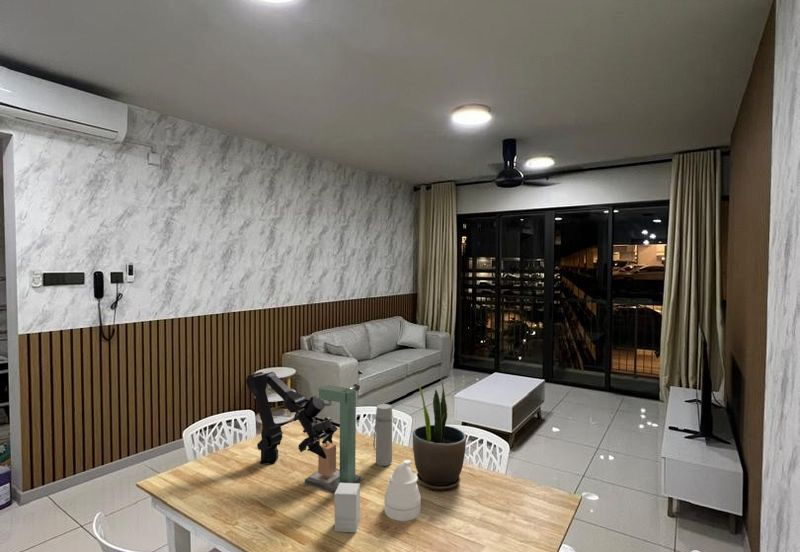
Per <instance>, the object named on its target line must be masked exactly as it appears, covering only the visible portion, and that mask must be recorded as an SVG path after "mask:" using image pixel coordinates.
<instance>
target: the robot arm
mask: <svg viewBox="0 0 800 552" xmlns="http://www.w3.org/2000/svg"><path fill="white" fill-rule="evenodd" d="M245 382H246V386H247V388H248V390H249V392H251V394H253V395H254V399H255V402H256V406H257V410H258V414H259V417H260V420H261V424H262V429H261V434H260V435H261V440H260V441H259V442H258V443H257V446H256V447H257V450H260V461H259V463H258V464H261V465H265V464H266V465H275V463H276V461H278V459H279V449H278V446H280V444H281V442H282V440H283V437H284V436H283V434H284V432H283V430H282V426H281V425H280V424H277V423H276V422H275V421H274V417H273V413H272V410H271V406H270V403H269V402H270V401H269V399H268V395H267V392H266V391H267V390H266V389H267V386H269V387H270V388H271V389H272V390H273V391H274V392H275V393H276V394H277V395H278V396H279V397H280V398H281V399H282V400H283V404H284V406H285V408H286V409H287V410H288V411H289V412H290V413H291V414H292V413H293V414H294V413H295V414H294V417H293V421H294V422H296V421H298V422H299V423H300V425H301V427H302V428H303V430H302V433H304V434H307V437H306V438H304V439H303V440H302V441H301V442H300V443H299V444H298V450H299V451H300V453H302V452H304V451H307V452H311V453H313V454H315V455H317V456H318V455H319V456H320V457H322V458H324V459H326V458H327V457H326V455H325V453H324V451H323V449H322V448H321V446H320V445H321V444H324V443H326V441H329V443H332V444H334V443H333V436H334V434H335V432H337V430H338V427H337V426H336V425H335V424H333V419H332V418H331V416H326V417H324V420H323V421H320V419H317V420H316V417H317V416H318V415H319V414H320V413H321V412H322V411H323V410H324V409H325V407H326V406H324V405H323V399H320V398H319V397H317V396H316V395H313V396H311V397H310V398H309V399H307V398H305V396H303V395H302V394H300V393H299V392H296V391H294V390H293V389H291V387H289V386H288V385H287V384H286V383H285V382H284V381H283V380H281V378H279V377H278V376H277V374H276V372H274V371H270V372H263V371H259V372H255V373H251V374H248V376H247V377H246V379H245ZM321 439H322V441H321ZM307 447H308V448H307Z"/></svg>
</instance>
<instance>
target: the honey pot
mask: <svg viewBox="0 0 800 552" xmlns="http://www.w3.org/2000/svg"><path fill="white" fill-rule="evenodd" d="M411 463H412V461H411V460H409V459H405V460H403V462H401V463H399V464H398V465H397V466H396V467H395V469H394V471H393V473H391V474H390V476H389V483H388V484H387V488H386V491H385V493H384V504H383V505H384V507H383V509H384V514H385V515H386V516H387V517H388V518H389V519H392V520H394V521H398V522H406V521H411V520H414V519H416V518H418V517H419V516H420V514H421V512H422V511H421V510H422V509H421V508H422V501H421V500H422V499H421V498H422V497H421V492H420V489H419V486H418V483H417V482H418V477H417V474H416V473H414V472H413V471H412V469H411V468H410V465H411Z"/></svg>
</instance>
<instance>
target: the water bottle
mask: <svg viewBox="0 0 800 552" xmlns="http://www.w3.org/2000/svg"><path fill="white" fill-rule="evenodd" d="M392 406H393V405H391V404H389V403H387V404H386V403H382V404H381V403H380V404H377V406H376V413H375V416H374V420H375V425H374V434H373V451H375V462H376V464H377V465H378V466H380V467H386V466H389V465H391V464H392V463H393V407H392Z"/></svg>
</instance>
